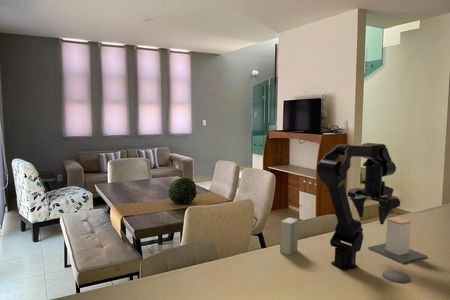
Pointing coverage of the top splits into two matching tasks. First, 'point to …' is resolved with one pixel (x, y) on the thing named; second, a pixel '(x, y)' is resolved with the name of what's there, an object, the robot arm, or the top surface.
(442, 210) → the top surface
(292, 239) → the skincare box
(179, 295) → the top surface
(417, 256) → the post plate
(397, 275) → the slate coaster
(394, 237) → the pink-topped tall block
